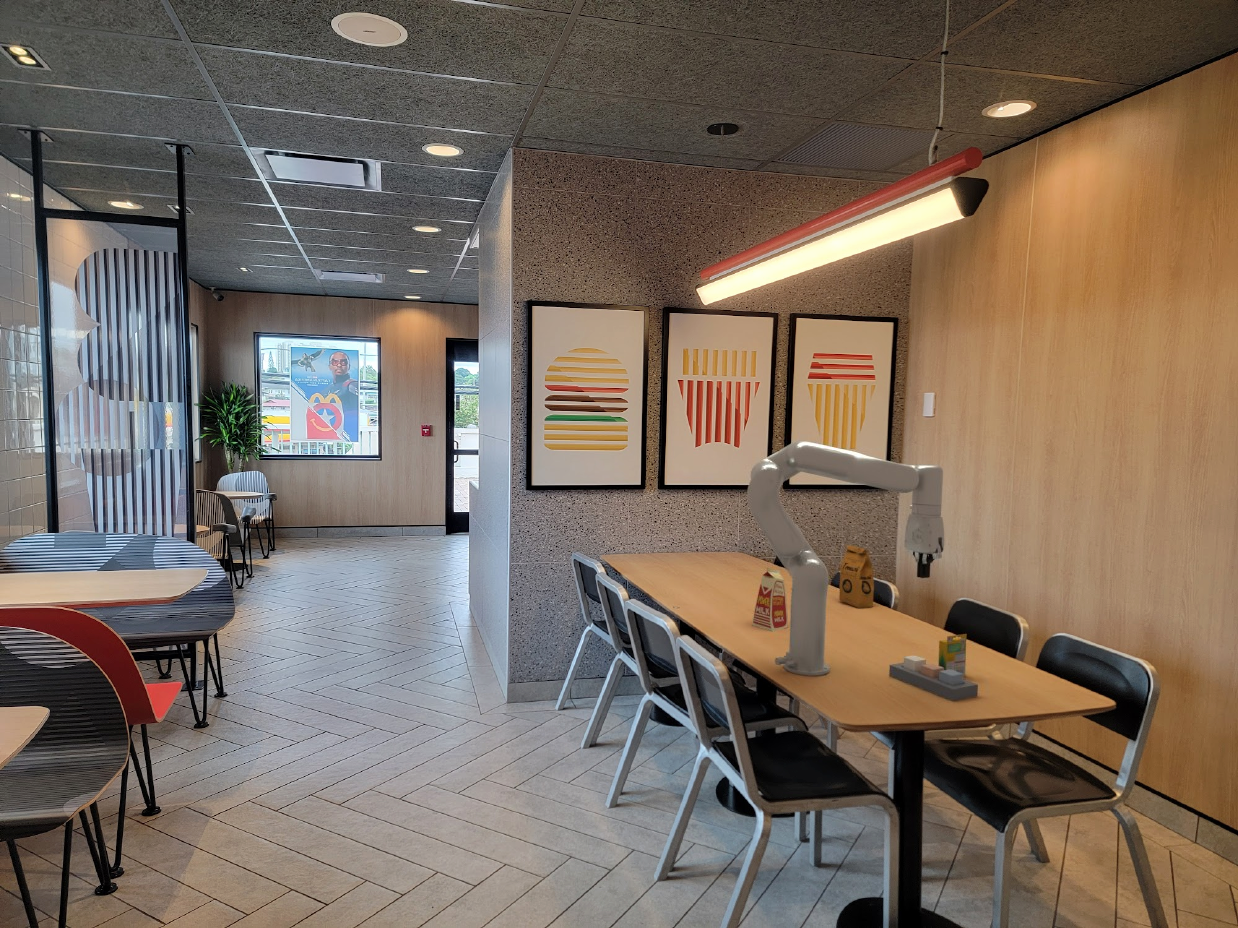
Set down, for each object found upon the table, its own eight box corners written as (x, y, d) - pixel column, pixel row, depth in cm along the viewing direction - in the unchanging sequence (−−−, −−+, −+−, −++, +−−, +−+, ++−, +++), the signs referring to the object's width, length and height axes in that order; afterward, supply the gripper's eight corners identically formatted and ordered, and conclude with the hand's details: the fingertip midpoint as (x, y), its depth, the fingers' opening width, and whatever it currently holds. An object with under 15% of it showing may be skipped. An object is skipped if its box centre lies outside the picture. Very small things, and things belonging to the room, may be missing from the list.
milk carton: (772, 631, 259) (774, 570, 258) (750, 625, 266) (752, 566, 265) (790, 627, 265) (792, 568, 263) (768, 621, 272) (770, 563, 271)
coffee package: (855, 609, 292) (857, 550, 290) (835, 601, 303) (837, 544, 302) (877, 607, 295) (880, 549, 294) (857, 600, 307) (859, 544, 305)
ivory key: (914, 675, 211) (915, 661, 211) (903, 671, 215) (903, 656, 214) (925, 673, 213) (926, 659, 213) (913, 669, 217) (914, 655, 216)
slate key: (951, 691, 200) (952, 675, 200) (938, 686, 204) (939, 671, 204) (962, 689, 202) (963, 673, 202) (949, 684, 206) (950, 669, 206)
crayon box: (957, 672, 220) (959, 631, 220) (965, 675, 218) (967, 633, 217) (937, 675, 217) (939, 633, 217) (945, 678, 215) (947, 636, 214)
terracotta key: (932, 684, 206) (933, 669, 206) (920, 680, 209) (921, 665, 209) (943, 682, 208) (944, 667, 207) (931, 678, 211) (932, 663, 211)
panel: (952, 700, 197) (953, 689, 197) (889, 675, 216) (889, 664, 216) (977, 695, 201) (977, 684, 201) (913, 671, 220) (913, 660, 220)
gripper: (895, 507, 220) (892, 573, 221) (938, 514, 206) (935, 583, 207) (914, 507, 223) (912, 571, 224) (958, 513, 210) (955, 581, 211)
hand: (923, 577), depth 216 cm, fingers closed
